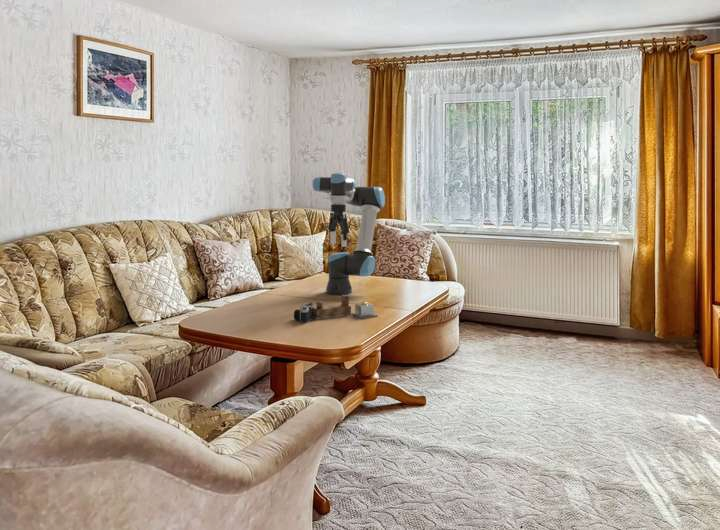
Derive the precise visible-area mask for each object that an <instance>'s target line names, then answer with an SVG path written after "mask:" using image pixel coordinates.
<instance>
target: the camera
mask: <svg viewBox="0 0 720 530" xmlns="http://www.w3.org/2000/svg"><path fill="white" fill-rule="evenodd" d="M313 308H314V304H313V303H312V302H306V303H303V304H301V305H300V306H299V309H295V310H294V312H293V319H294V320H295V321H299V322H301V324H305V325H306V324H308V323H309V322H310V321H311V320H312V319H314V318H313Z"/></svg>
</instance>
